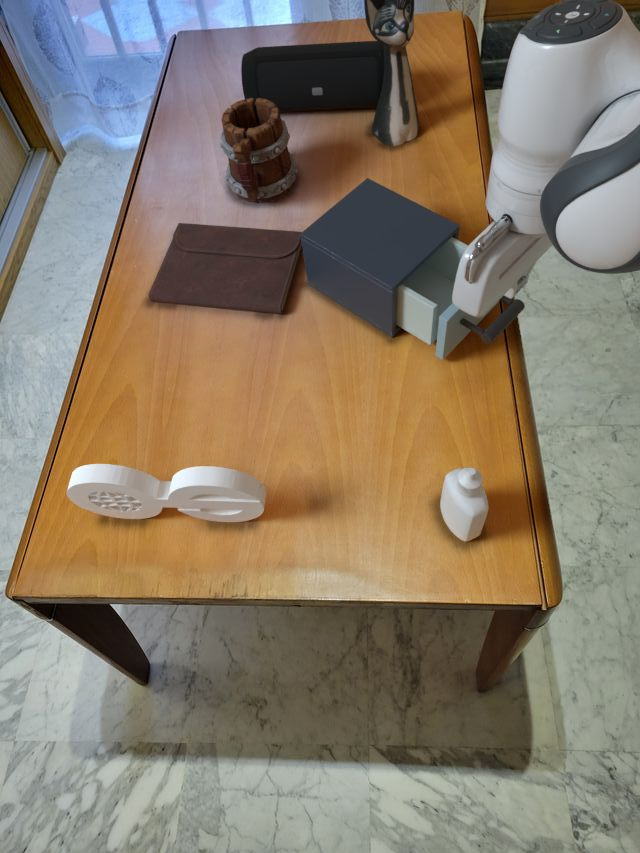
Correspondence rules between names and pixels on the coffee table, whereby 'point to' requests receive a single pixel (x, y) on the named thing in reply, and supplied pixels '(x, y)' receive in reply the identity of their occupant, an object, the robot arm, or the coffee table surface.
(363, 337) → the coffee table surface
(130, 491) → the white double disc plate
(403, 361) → the coffee table surface
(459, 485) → the eye dropper bottle
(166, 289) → the brown leather sleeve case
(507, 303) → the drawer
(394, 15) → the figurine
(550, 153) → the robot arm
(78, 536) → the coffee table surface
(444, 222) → the cabinet
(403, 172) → the coffee table surface
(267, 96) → the portable speaker
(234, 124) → the mug
